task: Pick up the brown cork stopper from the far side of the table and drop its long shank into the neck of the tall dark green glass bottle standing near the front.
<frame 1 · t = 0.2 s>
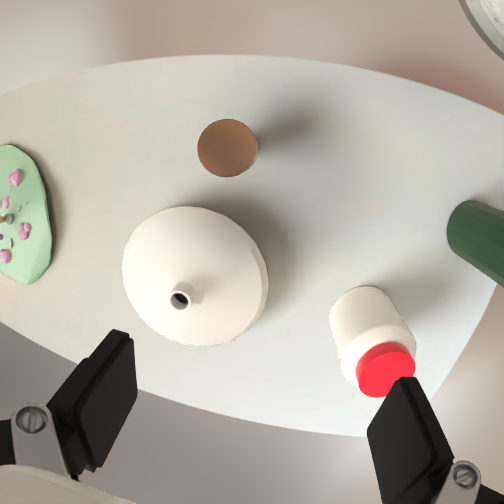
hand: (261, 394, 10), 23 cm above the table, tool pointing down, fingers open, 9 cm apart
bottle: (468, 228, 29), on the table
pill bottle: (360, 315, 34), on the table
stopper: (237, 149, 29), on the table
plant: (2, 214, 34), on the table
vase: (198, 271, 34), on the table
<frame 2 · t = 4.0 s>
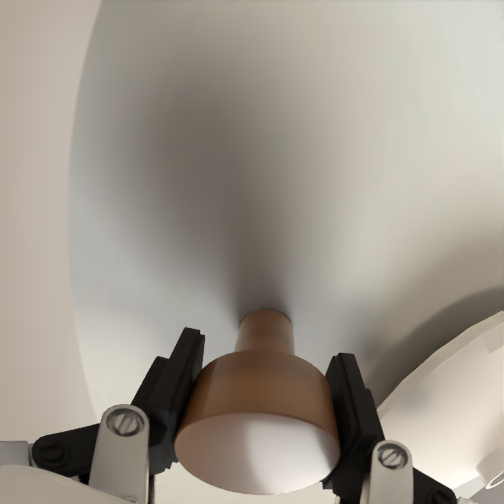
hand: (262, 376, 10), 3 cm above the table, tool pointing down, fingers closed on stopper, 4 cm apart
stopper: (266, 331, 13), on the table, touching gripper
vase: (459, 394, 14), on the table
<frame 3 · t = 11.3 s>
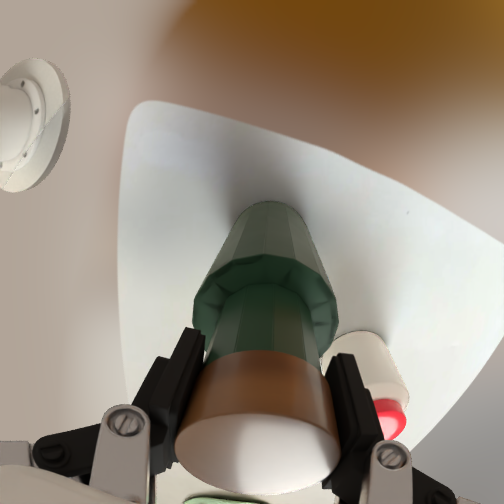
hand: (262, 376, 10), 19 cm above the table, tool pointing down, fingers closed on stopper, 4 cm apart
bottle: (270, 237, 28), on the table
pill bottle: (354, 357, 32), on the table
stopper: (266, 331, 13), point 16 cm above the table, touching bottle, gripper
when the fingers open (19 cm above the table, at t = 11.6 s): stopper stays where it is, resting on bottle.
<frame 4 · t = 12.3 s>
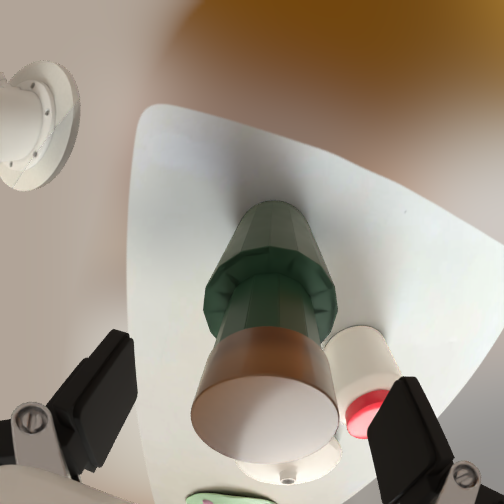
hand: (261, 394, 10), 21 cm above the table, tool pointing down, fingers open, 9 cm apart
bottle: (273, 235, 30), on the table
pill bottle: (354, 352, 33), on the table
stopper: (271, 317, 15), point 15 cm above the table, touching bottle
vase: (288, 443, 39), on the table
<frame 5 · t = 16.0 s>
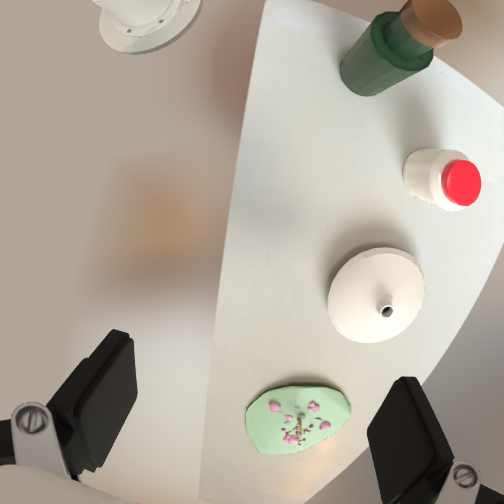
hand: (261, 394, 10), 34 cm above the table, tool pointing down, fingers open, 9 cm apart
bottle: (363, 74, 35), on the table
pill bottle: (424, 174, 39), on the table
stopper: (405, 39, 20), point 15 cm above the table, touching bottle
plant: (295, 422, 55), on the table
vase: (373, 289, 45), on the table
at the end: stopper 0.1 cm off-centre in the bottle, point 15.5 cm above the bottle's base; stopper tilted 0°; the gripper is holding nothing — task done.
